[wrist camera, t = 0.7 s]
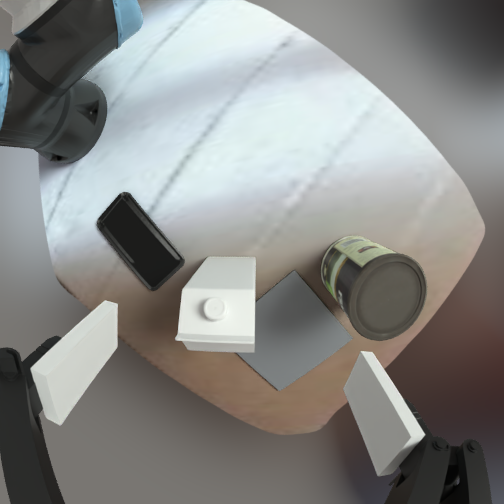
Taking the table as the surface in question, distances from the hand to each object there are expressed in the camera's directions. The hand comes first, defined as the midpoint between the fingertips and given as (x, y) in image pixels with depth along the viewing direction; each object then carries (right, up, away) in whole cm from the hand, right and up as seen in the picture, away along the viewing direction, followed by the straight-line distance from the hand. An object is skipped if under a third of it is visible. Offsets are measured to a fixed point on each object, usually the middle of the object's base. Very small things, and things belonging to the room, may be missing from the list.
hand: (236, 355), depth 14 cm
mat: (+6, -8, +31) cm, 32 cm away
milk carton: (-2, +1, +29) cm, 29 cm away
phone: (-17, +7, +29) cm, 34 cm away
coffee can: (+16, +3, +28) cm, 33 cm away
